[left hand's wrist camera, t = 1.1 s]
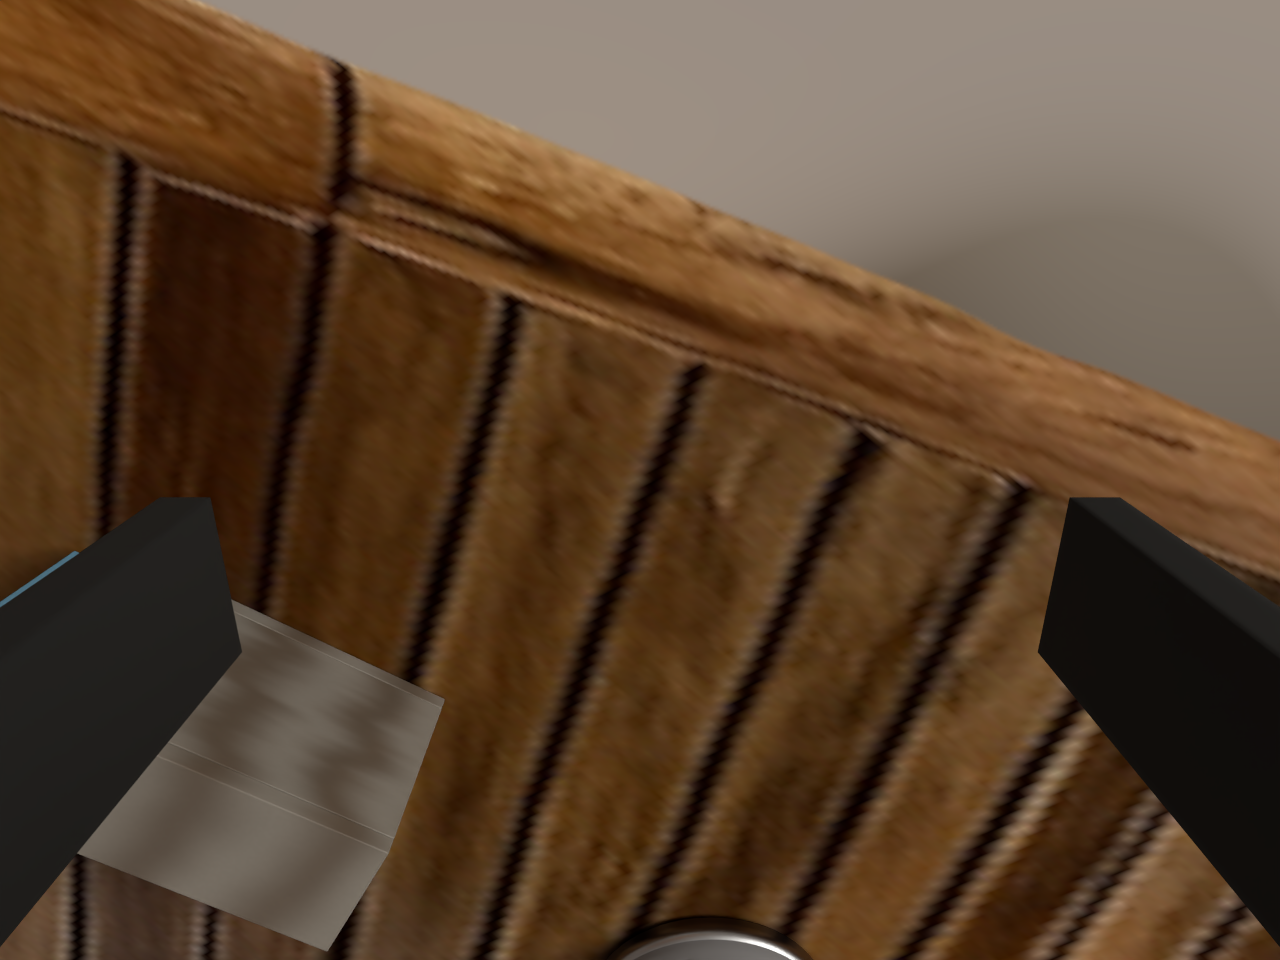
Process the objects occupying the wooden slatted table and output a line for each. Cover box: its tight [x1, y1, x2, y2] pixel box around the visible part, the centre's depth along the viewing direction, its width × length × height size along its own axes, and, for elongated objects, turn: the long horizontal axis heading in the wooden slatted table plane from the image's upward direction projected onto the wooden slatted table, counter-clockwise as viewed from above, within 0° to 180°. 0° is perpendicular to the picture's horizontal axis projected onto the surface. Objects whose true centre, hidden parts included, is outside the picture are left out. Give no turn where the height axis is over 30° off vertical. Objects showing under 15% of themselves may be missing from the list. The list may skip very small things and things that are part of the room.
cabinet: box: [77, 599, 445, 951], centre depth 38 cm, size 17×7×10 cm, turn 59°
